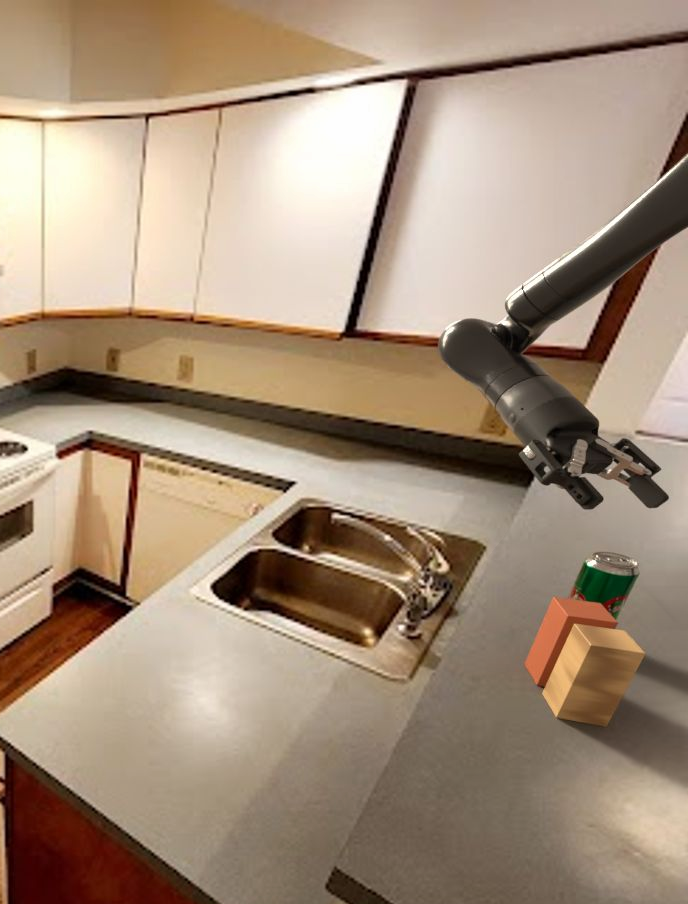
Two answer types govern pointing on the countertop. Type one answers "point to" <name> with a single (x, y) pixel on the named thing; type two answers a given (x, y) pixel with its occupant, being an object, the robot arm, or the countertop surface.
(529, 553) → the countertop surface
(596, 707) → the maple block
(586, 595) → the soda can
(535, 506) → the countertop surface
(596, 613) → the terracotta block
